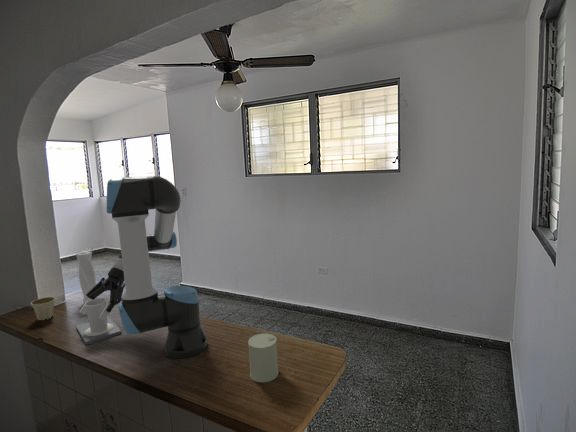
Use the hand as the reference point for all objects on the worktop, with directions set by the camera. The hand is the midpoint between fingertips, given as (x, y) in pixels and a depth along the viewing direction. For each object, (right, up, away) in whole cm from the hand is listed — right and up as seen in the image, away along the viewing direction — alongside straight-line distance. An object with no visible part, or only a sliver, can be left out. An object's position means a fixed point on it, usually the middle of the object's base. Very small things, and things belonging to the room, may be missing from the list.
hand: (91, 316), depth 142 cm
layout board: (0, -8, +5) cm, 9 cm away
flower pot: (-33, -7, +21) cm, 40 cm away
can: (+74, -10, -31) cm, 80 cm away
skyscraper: (-24, -3, +42) cm, 48 cm away
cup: (+2, -7, +3) cm, 7 cm away
